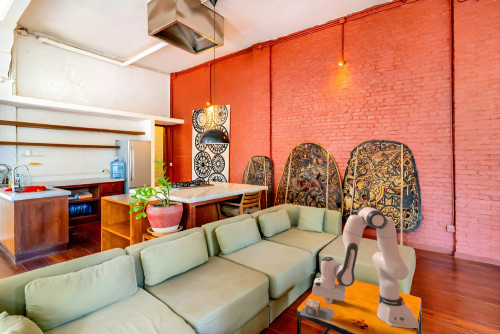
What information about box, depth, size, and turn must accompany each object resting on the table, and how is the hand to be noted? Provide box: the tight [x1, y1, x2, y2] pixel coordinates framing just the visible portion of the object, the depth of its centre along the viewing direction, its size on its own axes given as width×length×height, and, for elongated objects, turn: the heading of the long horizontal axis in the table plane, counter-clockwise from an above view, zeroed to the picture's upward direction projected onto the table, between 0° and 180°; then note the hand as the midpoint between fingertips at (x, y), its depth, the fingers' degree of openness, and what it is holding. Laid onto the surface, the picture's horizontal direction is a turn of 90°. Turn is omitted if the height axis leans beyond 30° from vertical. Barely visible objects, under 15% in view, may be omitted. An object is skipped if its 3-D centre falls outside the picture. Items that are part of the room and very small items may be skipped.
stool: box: [305, 298, 321, 316], centre depth 168 cm, size 6×8×8 cm
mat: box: [299, 303, 335, 323], centre depth 167 cm, size 20×14×1 cm
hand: (328, 304), depth 164 cm, fingers closed
